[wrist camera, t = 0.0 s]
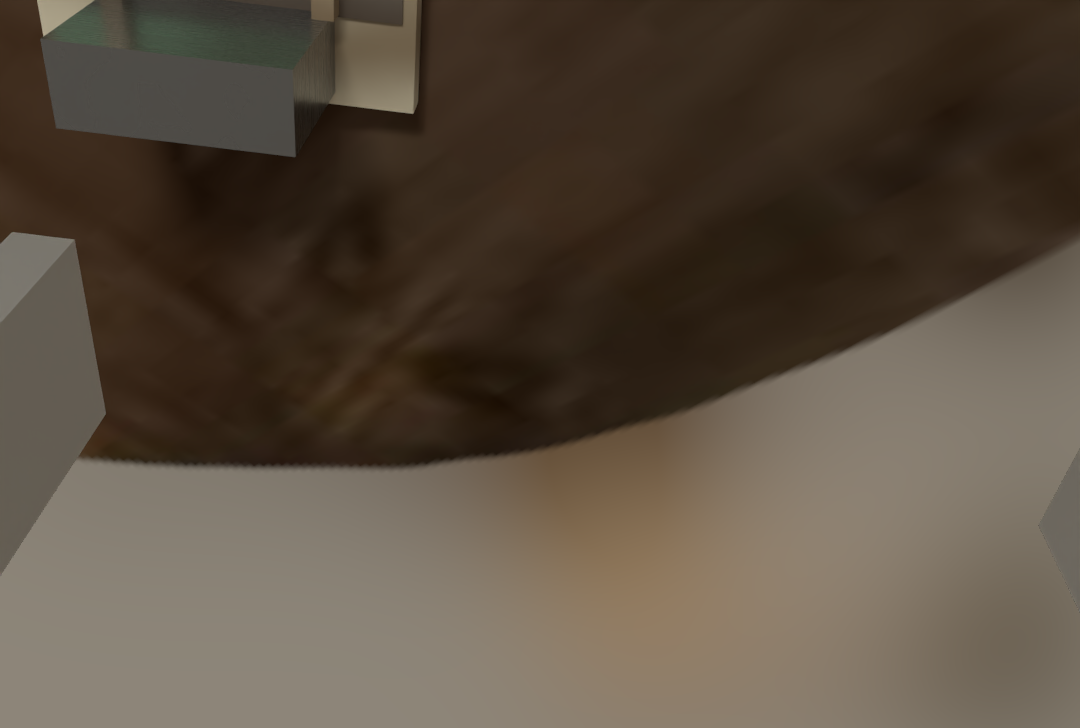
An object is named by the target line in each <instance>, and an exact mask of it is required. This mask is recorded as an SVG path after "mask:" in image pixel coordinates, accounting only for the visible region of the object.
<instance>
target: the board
mask: <svg viewBox="0 0 1080 728" xmlns="http://www.w3.org/2000/svg"><path fill="white" fill-rule="evenodd" d="M93 1H94V0H37V2H38V8H39V13H40V19H41V25H42V30H43V36H45V35H46V34H48V33H49V32H51V31H52V30H53V29H55V28H56V27H58V26H59V25H60V24H62V23H63V22H65V21H66V20H68V19H69V18H70V17H72V16H73V15H75V14H76V13H77V12H79V11H80V10H82V9H83V8H84V7H86V6H87V5H89V4H90V3H91V2H93ZM227 1H235V2H243V3H251V4H259V5H267V6H275V7H283V8H291V9H299V10H308V11H311V19H314V20H322V21H331V22H334V21H335V93H334V95H333V97H332V98H331V100H330V102H329V103H328V104H337V105H345V106H353V107H361V108H369V109H377V110H385V111H394V112H402V113H410V114H413V113H414V111H415V109H416V106H417V104H418V93H419V65H420V38H421V11H422V0H227Z"/></svg>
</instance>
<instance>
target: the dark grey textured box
mask: <svg viewBox="0 0 1080 728" xmlns="http://www.w3.org/2000/svg"><path fill="white" fill-rule="evenodd" d="M40 40H41V45H42V51H43V57H44V62H45V68H46V73H47V79H48V84H49V90H50V96H51V101H52V107H53V112H54V118H55V123H56V128H60V129H68V130H76V131H84V132H93V133H101V134H109V135H117V136H125V137H134V138H142V139H150V140H158V141H166V142H174V143H183V144H191V145H199V146H207V147H215V148H224V149H232V150H240V151H248V152H256V153H265V154H273V155H281V156H289V157H296V156H297V154H298V153H299V151H300V149H301V148H302V146H303V144H304V143H305V141H306V139H307V138H308V136H309V135H310V133H311V131H312V130H313V128H314V126H315V125H316V123H317V121H318V120H319V118H320V116H321V115H322V113H323V111H324V110H325V108H326V107H327V105H328V103H329V102H330V100H331V98H332V97H333V95H334V93H335V21H334V22H331V21H322V20H314V19H311V11H308V10H299V9H291V8H283V7H275V6H267V5H259V4H251V3H243V2H235V1H227V0H94V1H93V2H91V3H90V4H89V5H87V6H86V7H84V8H83V9H82V10H80V11H79V12H77V13H76V14H75V15H73V16H72V17H70V18H69V19H68V20H66V21H65V22H63V23H62V24H60V25H59V26H58V27H56V28H55V29H53V30H52V31H51V32H49V33H48V34H46V35H45V36H44V37H42V38H41V39H40Z"/></svg>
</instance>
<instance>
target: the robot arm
mask: <svg viewBox="0 0 1080 728" xmlns="http://www.w3.org/2000/svg"><path fill="white" fill-rule="evenodd" d="M105 414H106V412H105V406H104V401H103V395H102V390H101V384H100V379H99V373H98V368H97V362H96V356H95V351H94V345H93V340H92V334H91V329H90V323H89V318H88V312H87V306H86V301H85V295H84V290H83V284H82V279H81V273H80V268H79V262H78V256H77V251H76V245H75V240H73V239H65V238H57V237H48V236H40V235H32V234H24V233H15V232H12V233H11V234H10V235H9V236H8V237H7V238H6V239H5V240H4V241H3V242H2V243H1V244H0V576H1V574H2V572H3V571H4V569H5V568H6V566H7V565H8V563H9V562H10V560H11V558H12V557H13V556H14V554H15V553H16V551H17V549H18V548H19V546H20V545H21V543H22V542H23V540H24V538H25V537H26V536H27V534H28V533H29V531H30V529H31V528H32V526H33V524H34V523H35V522H36V520H37V519H38V517H39V516H40V514H41V512H42V511H43V510H44V508H45V506H46V505H47V503H48V501H49V500H50V499H51V497H52V496H53V494H54V493H55V491H56V489H57V488H58V486H59V485H60V483H61V482H62V480H63V479H64V477H65V475H66V474H67V473H68V471H69V470H70V468H71V466H72V465H73V463H74V462H75V460H76V459H77V457H78V456H79V454H80V453H81V451H82V450H83V448H84V447H85V445H86V443H87V442H88V440H89V439H90V437H91V436H92V434H93V433H94V431H95V430H96V428H97V427H98V425H99V423H100V422H101V420H102V419H103V417H104V416H105ZM1039 527H1040V529H1041V532H1042V534H1043V536H1044V538H1045V540H1046V542H1047V544H1048V546H1049V549H1050V551H1051V553H1052V555H1053V557H1054V559H1055V561H1056V563H1057V566H1058V568H1059V570H1060V572H1061V574H1062V576H1063V578H1064V580H1065V583H1066V585H1067V587H1068V589H1069V591H1070V593H1071V595H1072V597H1073V599H1074V602H1075V604H1076V606H1077V608H1078V610H1079V612H1080V449H1079V451H1078V453H1077V454H1076V456H1075V458H1074V460H1073V462H1072V464H1071V466H1070V467H1069V469H1068V471H1067V473H1066V475H1065V477H1064V479H1063V480H1062V482H1061V484H1060V486H1059V488H1058V490H1057V492H1056V494H1055V495H1054V497H1053V499H1052V501H1051V503H1050V505H1049V506H1048V508H1047V510H1046V512H1045V514H1044V516H1043V518H1042V520H1041V521H1040V523H1039Z"/></svg>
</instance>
